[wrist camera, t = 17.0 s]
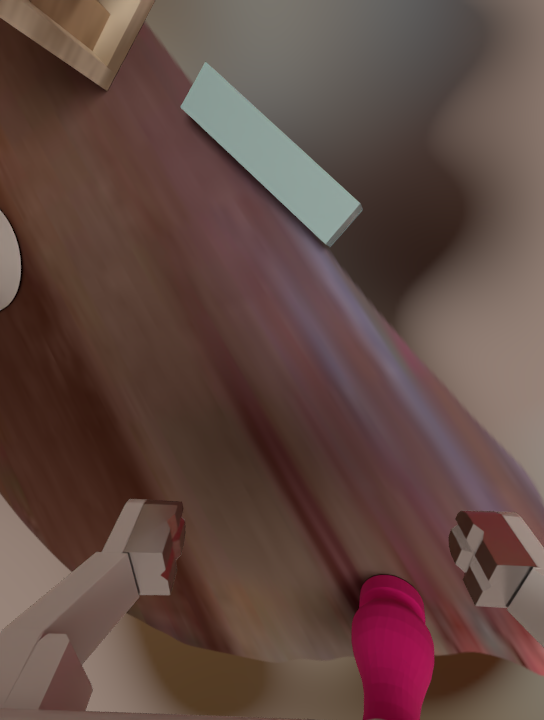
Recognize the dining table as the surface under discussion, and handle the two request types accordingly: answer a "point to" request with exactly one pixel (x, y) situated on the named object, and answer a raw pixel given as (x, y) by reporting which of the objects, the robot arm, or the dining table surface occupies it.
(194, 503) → the dining table surface
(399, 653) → the pepper mill
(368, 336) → the dining table surface
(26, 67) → the dining table surface
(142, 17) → the rack
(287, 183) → the plank
